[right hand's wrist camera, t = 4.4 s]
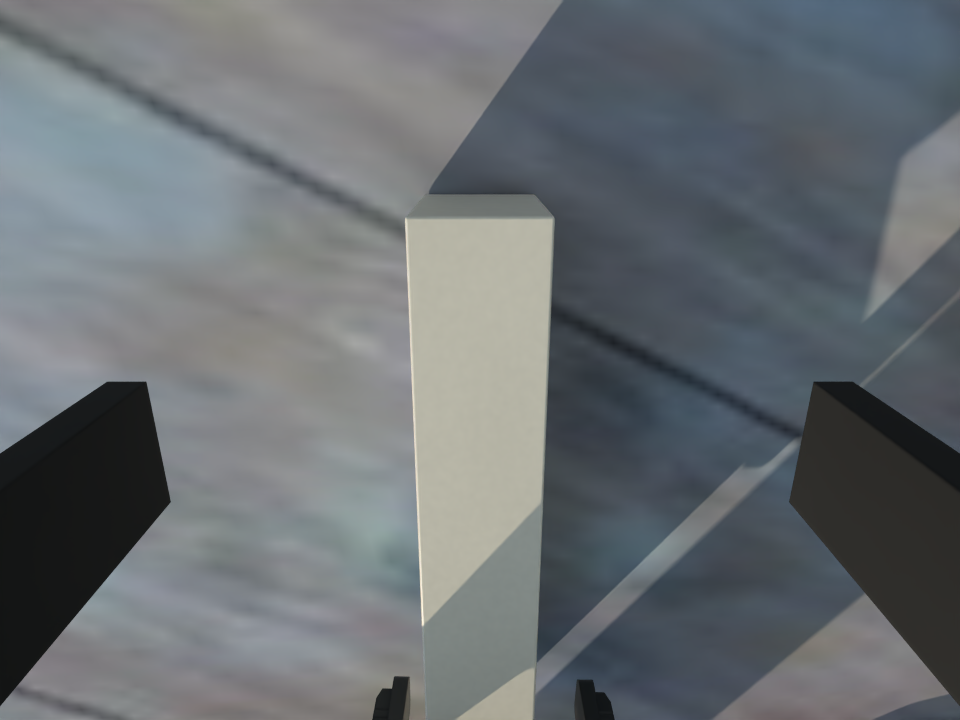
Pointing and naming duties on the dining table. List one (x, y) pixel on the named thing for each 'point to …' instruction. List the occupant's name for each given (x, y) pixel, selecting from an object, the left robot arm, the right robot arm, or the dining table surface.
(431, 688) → the beam
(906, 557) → the right robot arm
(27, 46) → the dining table surface
